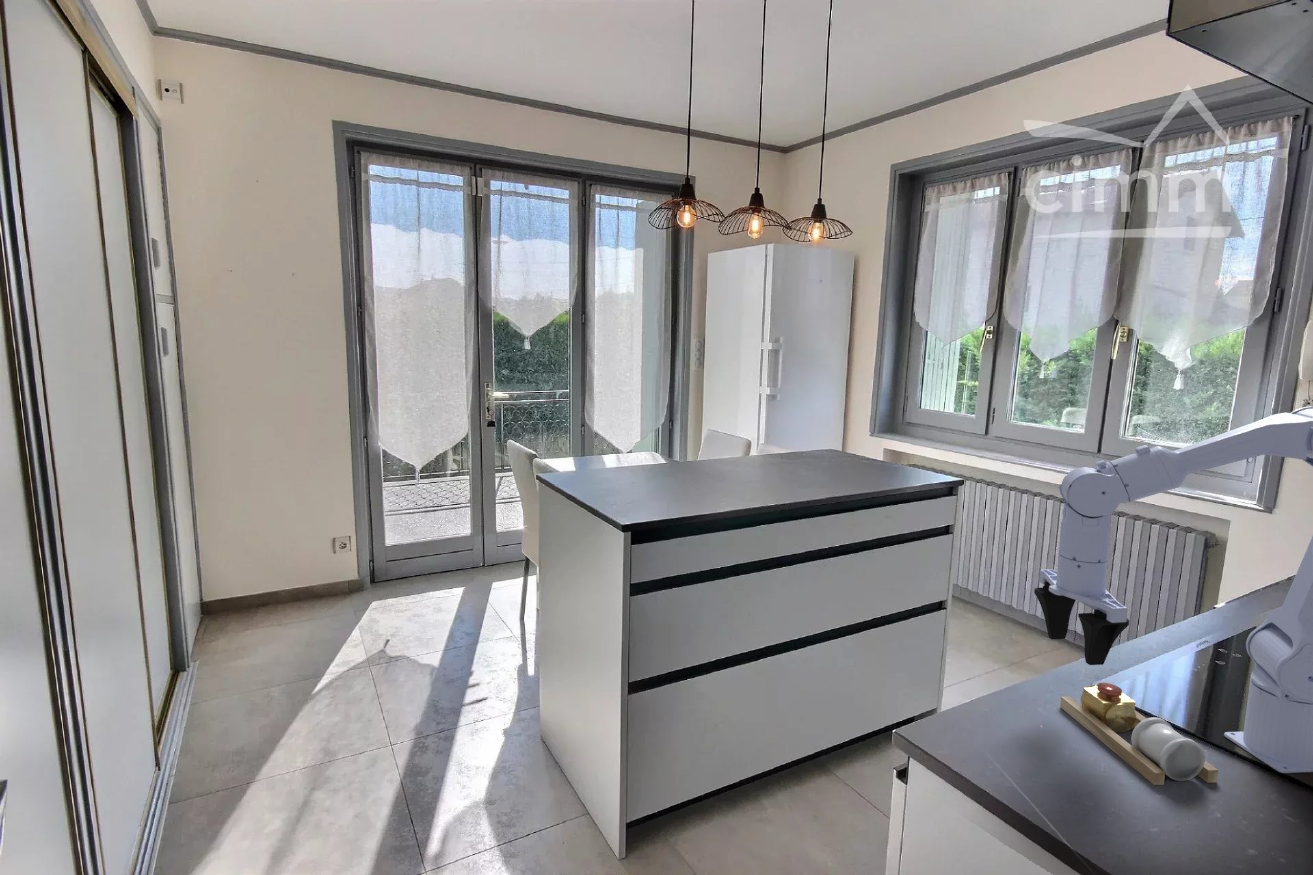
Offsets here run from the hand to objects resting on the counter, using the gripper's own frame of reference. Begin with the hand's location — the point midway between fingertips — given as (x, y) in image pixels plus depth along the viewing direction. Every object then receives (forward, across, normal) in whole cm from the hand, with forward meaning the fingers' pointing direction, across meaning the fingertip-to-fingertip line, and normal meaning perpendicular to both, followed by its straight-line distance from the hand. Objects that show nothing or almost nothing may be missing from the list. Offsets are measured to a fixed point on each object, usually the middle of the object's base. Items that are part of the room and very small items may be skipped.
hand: (1075, 650), depth 92 cm
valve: (+10, +2, +4) cm, 10 cm away
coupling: (+10, +12, +4) cm, 16 cm away
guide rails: (+10, +7, +4) cm, 12 cm away
